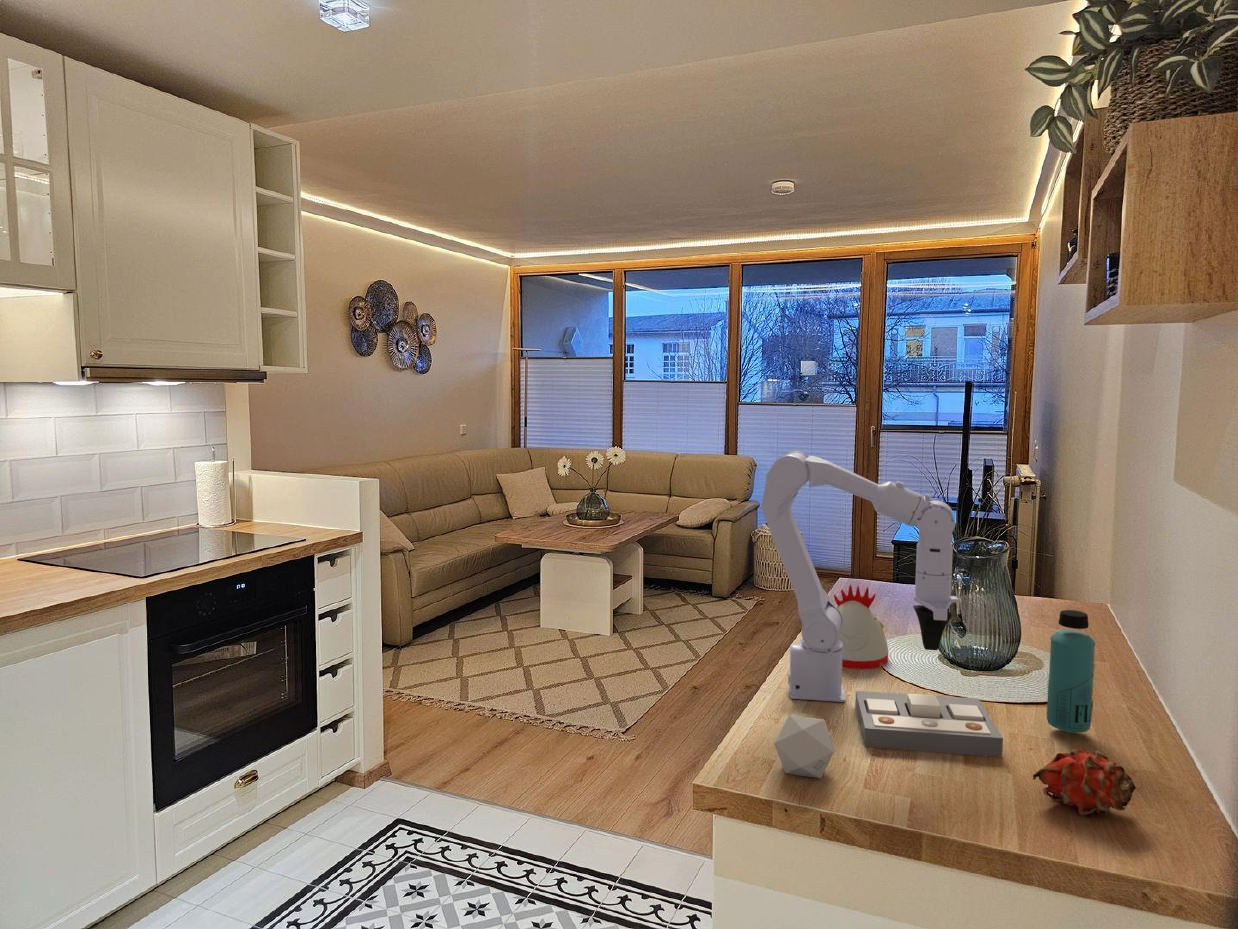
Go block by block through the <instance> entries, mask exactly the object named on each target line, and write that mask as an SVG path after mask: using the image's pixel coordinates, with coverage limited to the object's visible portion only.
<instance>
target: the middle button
mask: <svg viewBox="0 0 1238 929" xmlns="http://www.w3.org/2000/svg"><path fill="white" fill-rule="evenodd" d="M906 694H907V707H908V709H909V712H910V714H911V716H919V717H934V718H940V707H941V706H940V704H939V702H938V700H937V698H936V696H937V695H936V694H935V695H934V694H923V693H921V694H920V693H919V694H918V693H906Z"/></svg>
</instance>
